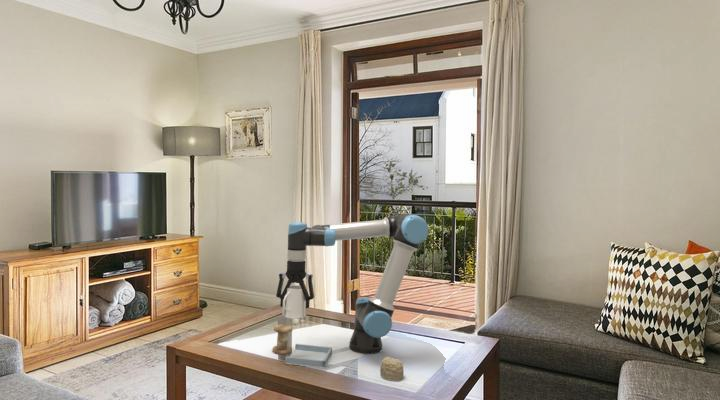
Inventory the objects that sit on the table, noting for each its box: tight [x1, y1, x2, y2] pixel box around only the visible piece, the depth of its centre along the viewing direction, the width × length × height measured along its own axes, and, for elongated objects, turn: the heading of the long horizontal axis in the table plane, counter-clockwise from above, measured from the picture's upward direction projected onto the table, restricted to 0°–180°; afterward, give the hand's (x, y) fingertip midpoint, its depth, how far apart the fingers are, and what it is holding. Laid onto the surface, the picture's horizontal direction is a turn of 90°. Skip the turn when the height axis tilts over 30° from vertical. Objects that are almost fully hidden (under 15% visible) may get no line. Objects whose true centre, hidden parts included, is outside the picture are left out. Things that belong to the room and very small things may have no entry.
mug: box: [283, 284, 305, 320], centre depth 184 cm, size 12×8×12 cm
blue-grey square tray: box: [284, 343, 333, 370], centre depth 186 cm, size 16×17×3 cm
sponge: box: [379, 356, 405, 382], centre depth 174 cm, size 9×10×10 cm
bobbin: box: [271, 324, 294, 355], centre depth 193 cm, size 8×8×10 cm
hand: (294, 315), depth 184 cm, fingers closed on mug, 8 cm apart
